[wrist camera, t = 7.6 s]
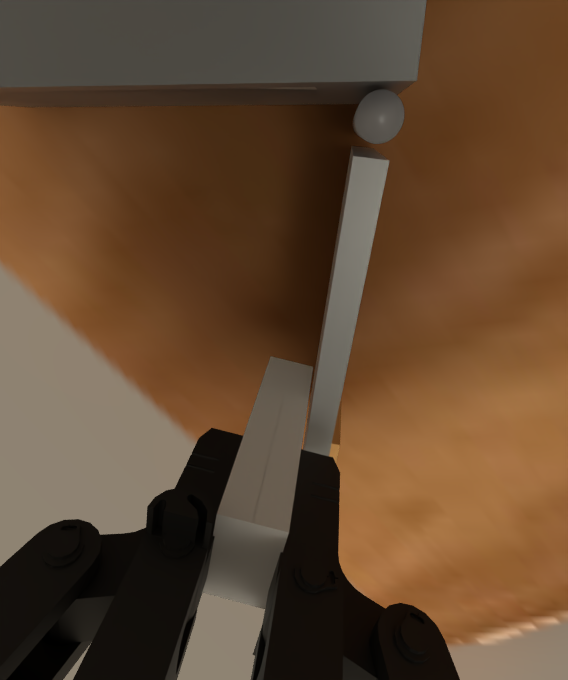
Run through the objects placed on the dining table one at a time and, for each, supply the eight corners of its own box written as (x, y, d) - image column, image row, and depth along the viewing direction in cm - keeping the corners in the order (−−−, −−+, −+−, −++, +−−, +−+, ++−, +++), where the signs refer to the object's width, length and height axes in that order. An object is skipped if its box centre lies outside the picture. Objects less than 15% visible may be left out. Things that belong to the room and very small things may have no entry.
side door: (351, 145, 15) (353, 156, 9) (387, 150, 15) (412, 163, 9) (309, 401, 21) (293, 513, 15) (335, 406, 20) (330, 520, 14)
